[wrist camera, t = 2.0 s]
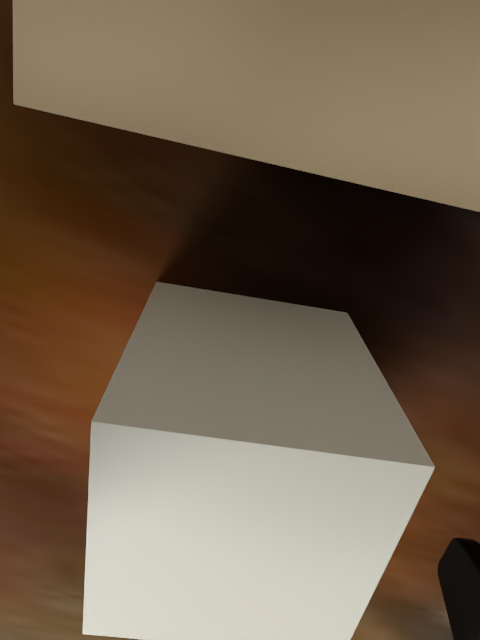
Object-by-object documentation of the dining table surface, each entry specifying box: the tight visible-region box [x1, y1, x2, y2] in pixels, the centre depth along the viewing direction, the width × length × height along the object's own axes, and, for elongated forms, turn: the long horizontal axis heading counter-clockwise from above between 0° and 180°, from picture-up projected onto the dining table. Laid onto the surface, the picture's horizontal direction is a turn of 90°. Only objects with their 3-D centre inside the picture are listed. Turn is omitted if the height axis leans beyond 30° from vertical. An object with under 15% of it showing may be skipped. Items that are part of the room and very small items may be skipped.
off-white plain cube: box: [83, 282, 435, 640], centre depth 11 cm, size 5×5×6 cm
